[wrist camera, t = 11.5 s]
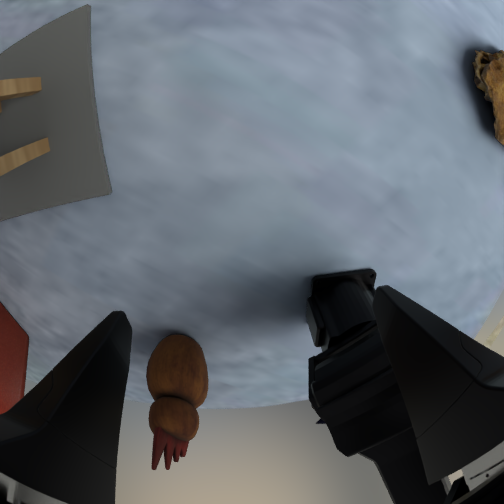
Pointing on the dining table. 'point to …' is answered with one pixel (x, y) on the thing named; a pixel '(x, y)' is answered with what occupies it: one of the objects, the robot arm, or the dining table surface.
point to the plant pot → (12, 360)
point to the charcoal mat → (53, 119)
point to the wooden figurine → (175, 395)
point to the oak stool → (24, 154)
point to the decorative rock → (492, 85)
